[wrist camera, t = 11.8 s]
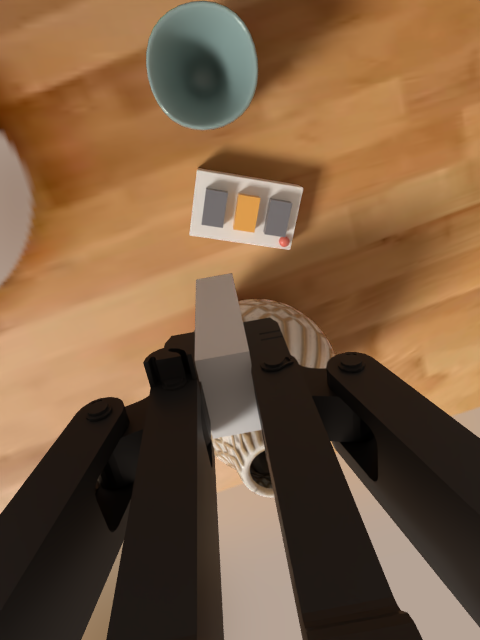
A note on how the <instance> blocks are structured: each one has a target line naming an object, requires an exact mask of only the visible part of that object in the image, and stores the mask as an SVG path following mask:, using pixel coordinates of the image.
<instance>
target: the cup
mask: <svg viewBox="0 0 480 640" xmlns="http://www.w3.org/2000/svg"><path fill="white" fill-rule="evenodd" d="M146 67H147V74H148V80H149V83H150V87H151V90H152V93H153V95H154V97H155V99H156V101H157V103H158V105H159V106H160V108H161V109H162V110H163V112H164V113H165V114H166V115H167V116H168V117H169V118H170V119H171V120H172V121H174V122H175V123H177V124H179V125H180V126H182V127H185V128H189V129H192V130H200V131H205V130H214V129H218V128H222V127H224V126H226V125H228V124H230V123H232V122H234V121H235V120H237V119H238V118H239V117H240V116H242V114H243V113H244V112H245V111H246V110H247V108H248V107H249V105H250V103H251V101H252V99H253V97H254V94H255V91H256V87H257V81H258V58H257V53H256V48H255V45H254V42H253V39H252V36H251V34H250V32H249V30H248V28H247V27H246V25H245V23H244V22H243V21H242V20H241V18H240V17H239V16H238V15H237V14H236V13H235V12H233V11H232V10H230V9H229V8H227V7H226V6H223V5H220V4H218V3H215V2H208V1H194V2H189V3H185V4H182V5H179V6H177V7H175V8H173V9H171V10H170V11H168V12H167V13H166V14H165V15H164V16H163V17H161V18H160V19H159V21H158V22H157V24H156V25H155V26H154V28H153V30H152V32H151V35H150V37H149V40H148V46H147V51H146Z"/></svg>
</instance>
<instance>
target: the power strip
mask: <svg viewBox="0 0 480 640" xmlns="http://www.w3.org/2000/svg"><path fill="white" fill-rule="evenodd" d="M302 192H303V187H301V186H299V185H297V184H291V183H285V182H279V181H273V180H267V179H261V178H255V177H249V176H243V175H237V174H231V173H225V172H219V171H213V170H207V169H201V168H197V175H196V184H195V192H194V201H193V209H192V217H191V226H190V234H189V235H191V236H198V237H205V238H211V239H218V240H225V241H232V242H239V243H246V244H252V245H259V246H266V247H273V248H280V249H287V250H290V248H291V243H292V239H293V234H294V230H295V225H296V220H297V216H298V211H299V206H300V202H301V197H302Z"/></svg>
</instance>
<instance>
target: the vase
mask: <svg viewBox="0 0 480 640" xmlns="http://www.w3.org/2000/svg"><path fill="white" fill-rule="evenodd" d="M238 302H239V307H240V312H241V316H242V321H243V322H247V321H252V320H258V319H263V318H269V317H270V318H272V319H273V320H275V321H276V322H278V324H279V327H280V329H281V332H282V334H283V337H284V339H285V342H286V344H287V347H288V349H289V352H290V354H291V355H292V356H294V357H295V358H296V360H297V361H298V363H299V365H301V366H304V367H309V368H326V366H327V362H328V361H329V360H330V359H331V358H332V357H334V356H335V353H334V351H333V348H332V346H331V344H330V342H329V341H328V339H327V337H326V336H325V334H324V333H323V332H322V330H321V329H320V328H319V327H318V326H317V325H316V324H315V323H314V322H313V321H312V320H311V319H310V318H309V317H307V316H306V315H305V314H303V313H302V312H301V311H299V310H297V309H296V308H294V307H292V306H289V305H287V304H284V303H281V302H277V301H273V300H268V299H248V300H242V301H238ZM194 332H195V330H194ZM211 439H212V443H213V447H214V455H215V457H216V458H218V459H219V460H220V461H222V462H223V463H225V464H226V465H228V466H229V467H231V468H233V469H235V470H236V471H237V472H238V474H239V476H240V478H241V479H242V481H243V483H244V484H245V485H246V486H247V488H248V489H250V490H251V491H252V492H254V493H256V494H258V495H261V496H265V497H274V492H273V487H272V482H271V477H270V472H269V467H268V462H267V459H266V453H265V447H264V441H263V436H262V430H258V431H253V432H247V433H242V434H236V435H231V436H225V437H220V438H214V439H213V437H212V432H211Z"/></svg>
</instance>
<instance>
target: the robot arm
mask: <svg viewBox="0 0 480 640" xmlns="http://www.w3.org/2000/svg"><path fill="white" fill-rule="evenodd" d="M143 363H144V367H145V370H146V373H147V377H148V380H149V383H150V387H151V389H150V395H149V396H148V397H146V398H145V399H143V400H141V401H139V402H136V403H134V404H131V405H129V406H126V407H125V406H124V404H123V401H122V400H120V399H118V398H114V397H107V398H100V399H97V400H94V401H92V402H90V403H89V404H87V405H85V406H84V407H82V408H81V409H80V410H79V411H78V412H77V413H76V415H75V416H74V417H73V419H72V420H71V421H70V423H69V424H68V425H67V427H66V428H65V429H64V431H63V432H62V433H61V435H60V436H59V437H58V439H57V440H56V441H55V443H54V444H53V445H52V447H51V448H50V449H49V451H48V452H47V453H46V455H45V456H44V457H43V459H42V460H41V461H40V463H39V464H38V465H37V467H36V468H35V469H34V470H33V472H32V473H31V474H30V476H29V477H28V478H27V480H26V481H25V482H24V484H23V485H22V486H21V488H20V489H19V490H18V492H17V493H16V494H15V496H14V497H13V498H12V500H11V501H10V502H9V504H8V505H7V506H6V508H5V509H4V510H3V512H2V513H1V514H0V640H81V639H82V636H83V634H84V632H85V629H86V627H87V625H88V622H89V620H90V618H91V615H92V613H93V611H94V608H95V606H96V604H97V601H98V599H99V597H100V594H101V592H102V590H103V587H104V585H105V583H106V580H107V578H108V576H109V573H110V571H111V569H112V566H113V564H114V562H115V559H116V557H117V555H118V552H119V550H120V547H121V545H122V543H123V541H124V543H123V548H122V554H121V560H120V566H119V571H118V577H117V583H116V588H115V594H114V600H113V606H112V611H111V617H110V622H109V628H108V633H107V639H106V640H224V633H223V612H222V592H221V573H220V554H219V534H218V514H217V494H216V474H215V455H214V447H213V443H212V439H211V432H212V437H213V439H214V438H220V437H225V436H231V435H236V434H242V433H247V432H253V431H258V430H262V436H263V441H264V447H265V453H266V459H267V462H268V467H269V472H270V477H271V482H272V487H273V492H274V497H275V502H276V507H277V512H278V517H279V522H280V526H281V532H282V537H283V542H284V547H285V552H286V557H287V562H288V567H289V572H290V578H291V582H292V588H293V593H294V597H295V603H296V607H297V613H298V617H299V623H300V628H301V633H302V638H303V640H423V639H422V637H421V635H420V633H419V631H418V629H417V627H416V625H415V623H414V621H413V620H412V618H411V617H410V616H409V614H408V613H407V612H404V611H401V610H400V608H399V607H398V605H397V603H396V601H395V599H394V597H393V595H392V592H391V590H390V587H389V584H388V582H387V580H386V577H385V575H384V572H383V570H382V567H381V565H380V563H379V560H378V557H377V555H376V552H375V550H374V548H373V545H372V543H371V540H370V538H369V535H368V533H367V531H366V528H365V525H364V523H363V521H362V518H361V516H360V513H359V511H358V508H357V506H356V504H355V501H354V498H353V496H352V494H351V491H350V489H349V486H348V484H347V481H346V479H345V476H344V474H343V471H342V469H341V467H340V464H339V462H338V460H337V457H336V454H335V452H334V449H333V447H332V444H331V442H330V441H332V443H333V445H334V447H335V449H336V451H337V452H338V453H339V454H340V455H341V457H342V458H343V459H344V460H345V462H346V463H347V464H348V465H349V467H350V468H351V469H352V470H353V471H354V473H355V474H356V475H357V476H358V478H359V479H360V480H361V481H362V482H363V484H364V485H365V486H366V488H367V489H368V490H369V491H370V492H371V494H372V495H373V496H374V497H375V499H376V500H377V501H378V502H379V504H380V505H381V506H382V507H383V509H384V510H385V511H386V512H387V513H388V515H389V516H390V517H391V518H392V520H393V521H394V522H395V523H396V524H397V526H398V527H399V528H400V530H401V531H402V532H403V533H404V534H405V536H406V537H407V538H408V539H409V541H410V542H411V543H412V544H413V545H414V547H415V548H416V549H417V550H418V552H419V553H420V554H421V555H422V557H423V558H424V559H425V560H426V561H427V563H428V564H429V565H430V567H431V568H432V569H433V570H434V571H435V573H436V574H437V575H438V576H439V577H440V579H441V580H442V581H443V583H444V584H445V585H446V586H447V588H448V589H449V590H450V591H451V592H452V594H453V595H454V596H455V597H456V599H457V600H458V601H459V602H460V604H461V605H462V606H463V607H464V609H465V610H466V611H467V612H468V613H469V615H470V616H471V617H472V618H473V620H474V621H475V622H476V623H477V624H478V626H479V627H480V438H479V437H477V436H476V435H474V434H473V433H472V432H471V431H469V430H468V429H467V428H465V427H464V426H463V425H461V424H460V423H459V422H457V421H456V420H455V419H453V418H452V417H451V416H449V415H448V414H447V413H445V412H444V411H443V410H441V409H440V408H439V407H437V406H436V405H435V404H433V403H432V402H431V401H429V400H428V399H427V398H425V397H424V396H423V395H422V394H420V393H419V392H418V391H416V390H415V389H414V388H412V387H411V386H410V385H408V384H407V383H406V382H404V381H403V380H402V379H400V378H399V377H398V376H396V375H395V374H394V373H392V372H391V371H390V370H388V369H387V368H386V367H384V366H383V365H382V364H380V363H379V362H378V361H376V360H375V359H374V358H372V357H370V356H368V355H366V354H362V353H358V352H346V353H342V354H338V355H336V356H334V357H332V358H331V359H330V360H329V361H328V362H327V366H326V368H309V367H304V366H301V365H299V363H298V361H297V360H296V358H295V357H294V356H292V355H291V354H290V352H289V349H288V347H287V344H286V342H285V339H284V337H283V334H282V332H281V329H280V327H279V324H278V322H276V321H275V320H273V319H272V318H270V317H269V318H263V319H258V320H252V321H247V322H243V321H242V316H241V312H240V307H239V302H238V298H237V293H236V289H235V284H234V280H233V275H232V273H230V274H225V275H219V276H214V277H208V278H202V279H197V280H196V311H195V332H192V333H186V334H180V335H175V336H171V337H170V339H169V340H168V341H167V342H166V343H165V346H164V348H162V349H159V350H157V351H155V352H153V353H151V354H150V355H149V356H148V357H146V359H145V361H144V362H143Z"/></svg>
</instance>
